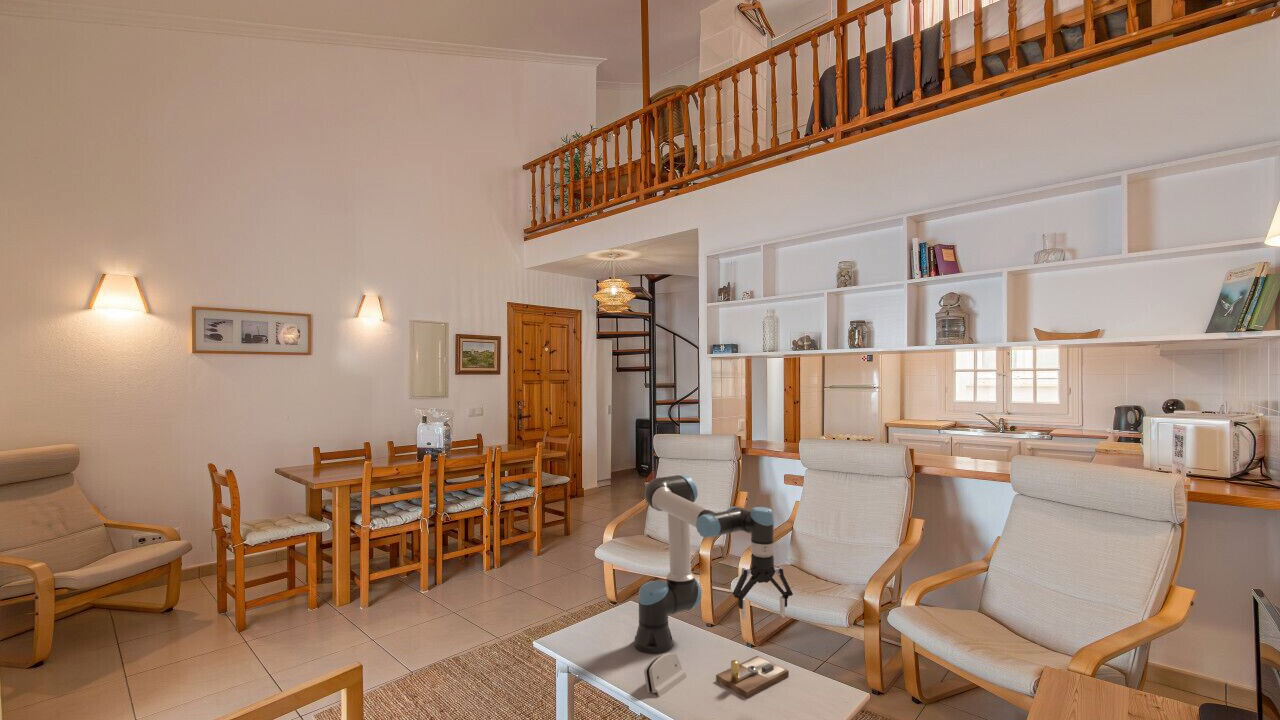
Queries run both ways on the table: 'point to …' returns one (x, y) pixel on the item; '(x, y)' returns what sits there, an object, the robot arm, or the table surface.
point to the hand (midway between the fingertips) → (762, 617)
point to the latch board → (754, 677)
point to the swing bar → (739, 676)
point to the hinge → (663, 673)
